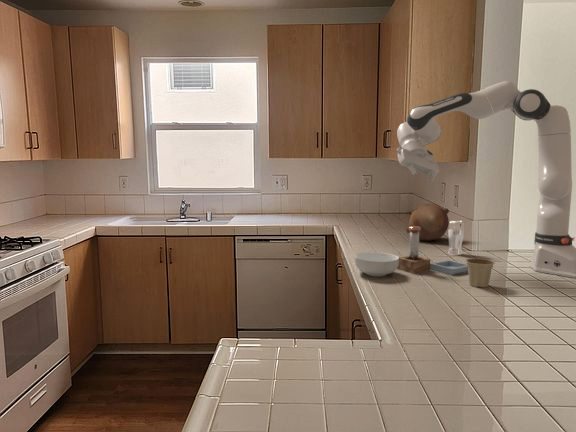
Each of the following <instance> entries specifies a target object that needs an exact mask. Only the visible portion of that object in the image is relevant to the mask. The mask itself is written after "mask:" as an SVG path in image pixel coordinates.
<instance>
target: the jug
mask: <svg viewBox="0 0 576 432" xmlns="http://www.w3.org/2000/svg"><path fill="white" fill-rule="evenodd" d="M448 213H450V210H449V209H448V208H443V207H442V206H440V205H438V204H436V203H430V202H429V203H428V202H427V203H423V204H420V205H418V206H417V207H416V208H415V209H414V210H413V211H412V212H411V215H410V217H409V220H408V221H409V222H408V223H409V225H408V227H407V228H406V229H405V230H406V232H407V234H408V233H409V234H410V230H409V226H419V227H421V230H420V231H419V240H422V241H426V242H427V241H435V240H439V239H440V238H441V237H443V236H444V235H445V234H446V232H447V231H448V224H449V221H450V220H449V216H448Z"/></svg>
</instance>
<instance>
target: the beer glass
mask: <svg viewBox="0 0 576 432" xmlns="http://www.w3.org/2000/svg"><path fill="white" fill-rule="evenodd" d="M464 235H465V221H464V220H463V221H462V220H449V224H448V228H447V238H448V251H447V254H448V255H450V256H462V255H463V251H462V246H463V244H462V243H463V240H464Z"/></svg>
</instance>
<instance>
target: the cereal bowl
mask: <svg viewBox="0 0 576 432" xmlns="http://www.w3.org/2000/svg"><path fill="white" fill-rule="evenodd" d="M354 263H355V266H356V268H357V269H358V270H359V271H361V272H362V273H365V274H366V275H367V276H369V277H378V278H379V277H385V276H387V275H388V274H392V273H394V272H395V271H396V270H398V269H397V267H398V264H399V256H398V255H395V254H392V253H387V252H379V251H377V252H375V251H371V252H369V251H368V252H367V251H365V252H364V251H363V252H360V253H357V254H356V253H355V256H354Z"/></svg>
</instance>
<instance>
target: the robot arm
mask: <svg viewBox="0 0 576 432" xmlns="http://www.w3.org/2000/svg"><path fill="white" fill-rule="evenodd" d="M508 109H509V110H511V112H513V113H514V115H515V116H517V117H518V118H519V119H521V120H523V121H534V122H535V123H536V125H537V134H538V135H537V136H538V138H537V139H538V140H537V143H538V181H537V182H538V191H539V197H538V198H539V199H538V206H537V207H538V208H537V215H536V216H537V220H536V232H535V233H534V250H533V254H532V259H531V261H530V264H529V268H531V269H533V271H534V272H537V273H545V274H551V275H554V276H562V277H566V278H567V277H569V278H573V279H576V247H575V246H574V245H573V241H574V240H575V239H576V237H572V236H570V234H569V226H570V215H571V202H572V191H573V179H572V176H573V175H572V173H573V172H572V132H571V131H572V130H571V129H572V128H571V121H570V116H569V115H570V114H569V112H568V110H567V108H566V107H564V106H562V105H551V103H550V102H549V101H548V99H547V98H546V96H545V94H544V93H542V92H541V91H539V90H537V89H533V88H529V89H525V90H523V91H520V90H519V88H518V87H517V85H516V84H515V83H514V82H513V81H511V80H503V81H501V82H498V83H495V84H492V85H489V86H487V87H485V88H483V89H481V90H477V91H474V92H470V93H469V92H460V93H457V94H454V95H451V96H448V97H445V98H443V99H439V100H437V101H434V102H431V103H428V104H423V105H418V106H415V107H414V108H412V109H411V110H410V112H409V113H408V115H407V119H406V121H405V122H403V123H401V124H400V125H399V126H398V128H397V129H396V130H397V131H396V135H397V140H398V143H399V147H397V148H396V151H397V160H398V163H399V164H400V166H401V167H405V168H407V169H408V170H409V172H411V174H412V175H413V176H417V175H418V173H422V174H424V175H428V178H427V179H428V181H429V182H434V181H435V177H436V176H437V175H438V174H439V173H440V168H439V165H438V162H437V160H436V159H435V154H434V153H433V152H431V151H430V150H429V149H427V148H426V147H425V146H428V145H431V144H433V143H434V142H436V141H437V140H438V139H439V138H440V137H441V134H442V128H441V126H440V124H439V123H438V122H437V120H436V118H438V117H440V116H444V115H445V114H448V113H449V114H450V113H451V112H461V113H463V114H465V115H467V116H469V117H471V118H473V119H477V120H481V119H486V118H488V117H491V116H493V115H494V114H497V113H500V112H502V111H505V110H508Z"/></svg>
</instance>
